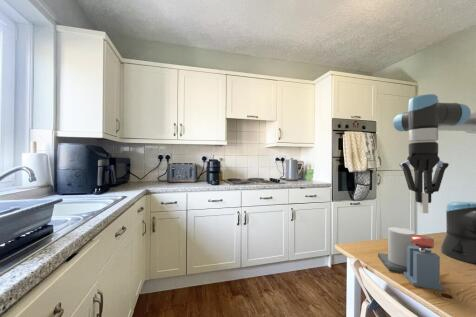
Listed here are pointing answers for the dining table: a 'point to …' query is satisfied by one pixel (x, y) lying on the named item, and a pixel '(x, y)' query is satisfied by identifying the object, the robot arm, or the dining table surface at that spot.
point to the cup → (399, 244)
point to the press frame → (423, 268)
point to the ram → (422, 242)
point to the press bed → (391, 264)
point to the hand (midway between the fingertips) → (423, 212)
